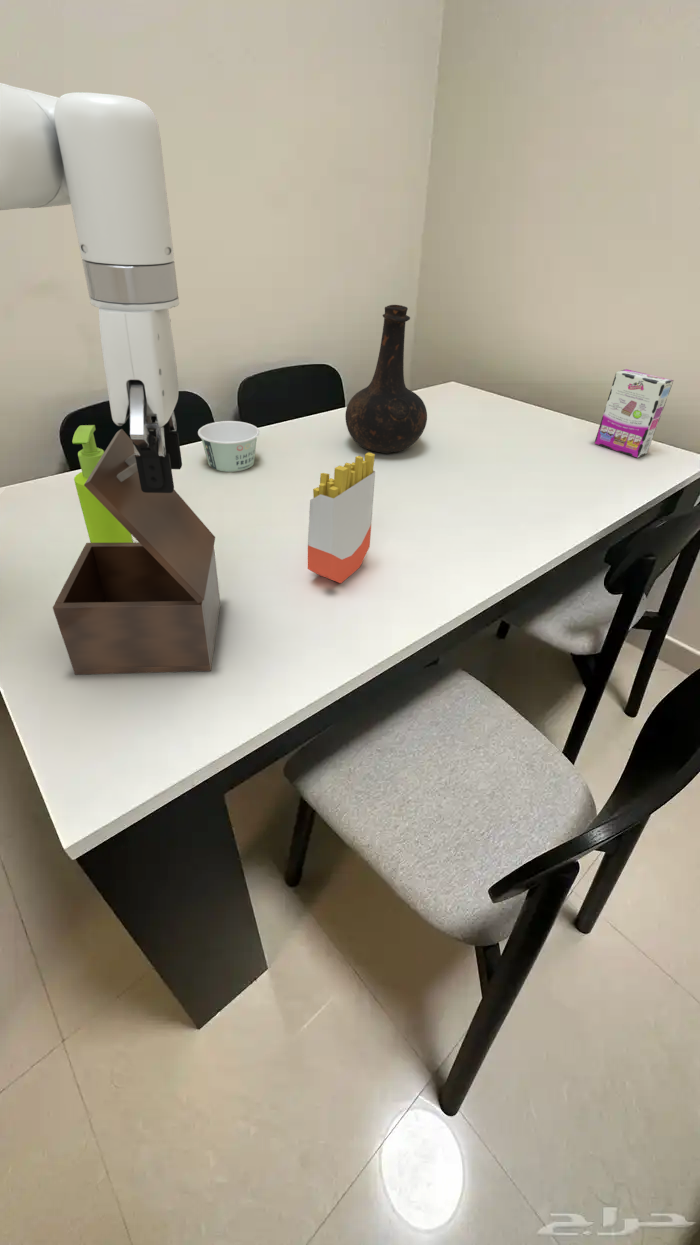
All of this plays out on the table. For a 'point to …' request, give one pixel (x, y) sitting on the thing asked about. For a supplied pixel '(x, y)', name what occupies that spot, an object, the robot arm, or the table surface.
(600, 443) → the candy bar box
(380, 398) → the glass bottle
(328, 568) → the french fries container
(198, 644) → the chest
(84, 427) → the soap dispenser
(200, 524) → the lid
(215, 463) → the food container
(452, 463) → the table surface
